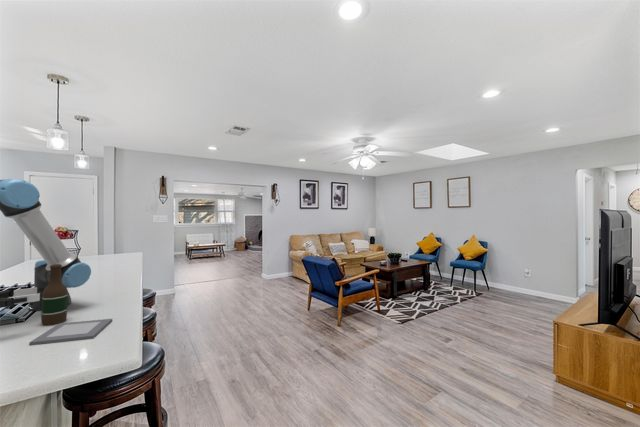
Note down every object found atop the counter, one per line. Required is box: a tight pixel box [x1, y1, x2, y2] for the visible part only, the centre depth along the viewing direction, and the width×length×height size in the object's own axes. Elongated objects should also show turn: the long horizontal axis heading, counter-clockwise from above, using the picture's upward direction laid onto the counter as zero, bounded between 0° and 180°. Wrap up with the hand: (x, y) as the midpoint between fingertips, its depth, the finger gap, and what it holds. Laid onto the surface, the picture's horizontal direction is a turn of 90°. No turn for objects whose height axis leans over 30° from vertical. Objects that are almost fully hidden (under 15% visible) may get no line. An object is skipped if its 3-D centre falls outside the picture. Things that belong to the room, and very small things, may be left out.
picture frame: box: [28, 318, 113, 346], centre depth 106 cm, size 18×18×1 cm
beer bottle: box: [40, 264, 68, 327], centre depth 115 cm, size 8×8×24 cm
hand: (38, 293), depth 111 cm, fingers open, 13 cm apart
